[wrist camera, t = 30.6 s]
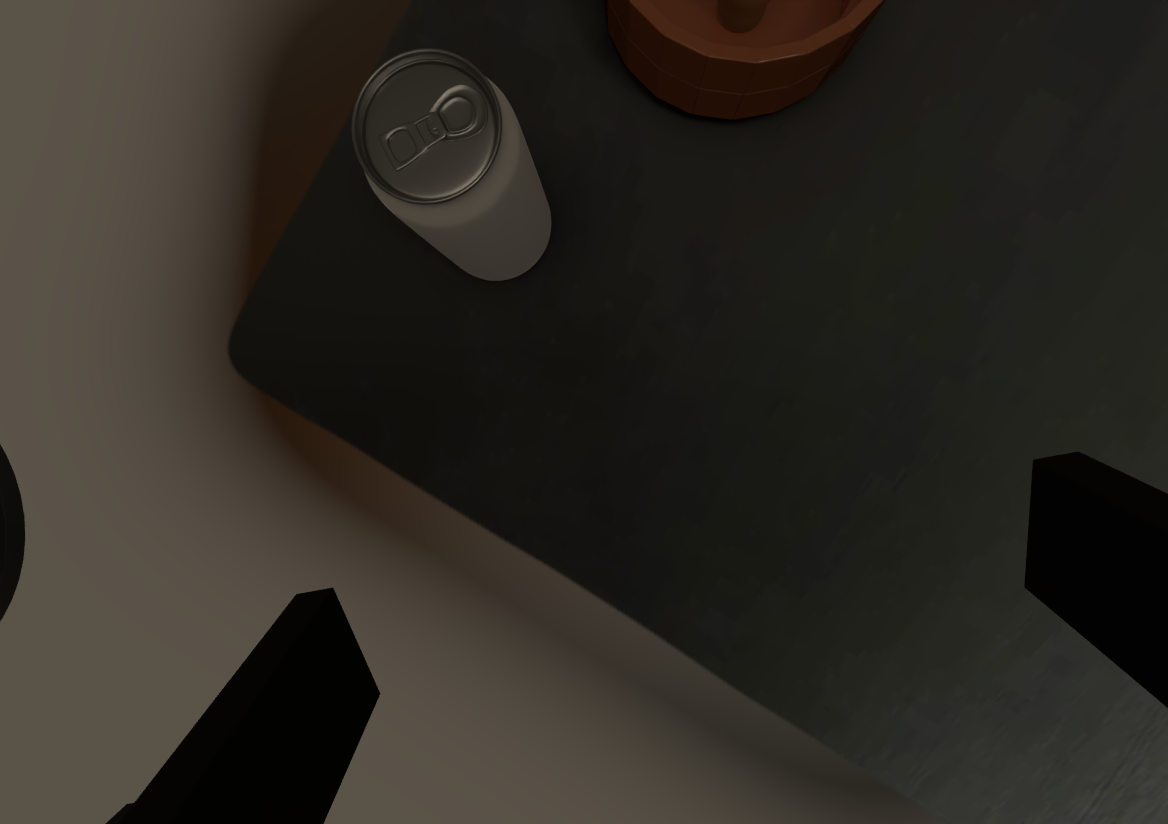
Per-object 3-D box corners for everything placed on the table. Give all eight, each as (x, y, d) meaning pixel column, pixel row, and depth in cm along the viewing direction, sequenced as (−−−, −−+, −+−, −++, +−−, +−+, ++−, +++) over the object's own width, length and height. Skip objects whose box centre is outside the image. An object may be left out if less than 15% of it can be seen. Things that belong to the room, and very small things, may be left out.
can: (572, 249, 31) (544, 160, 19) (475, 302, 32) (390, 247, 20) (520, 151, 31) (461, 1, 19) (424, 205, 32) (309, 92, 20)
